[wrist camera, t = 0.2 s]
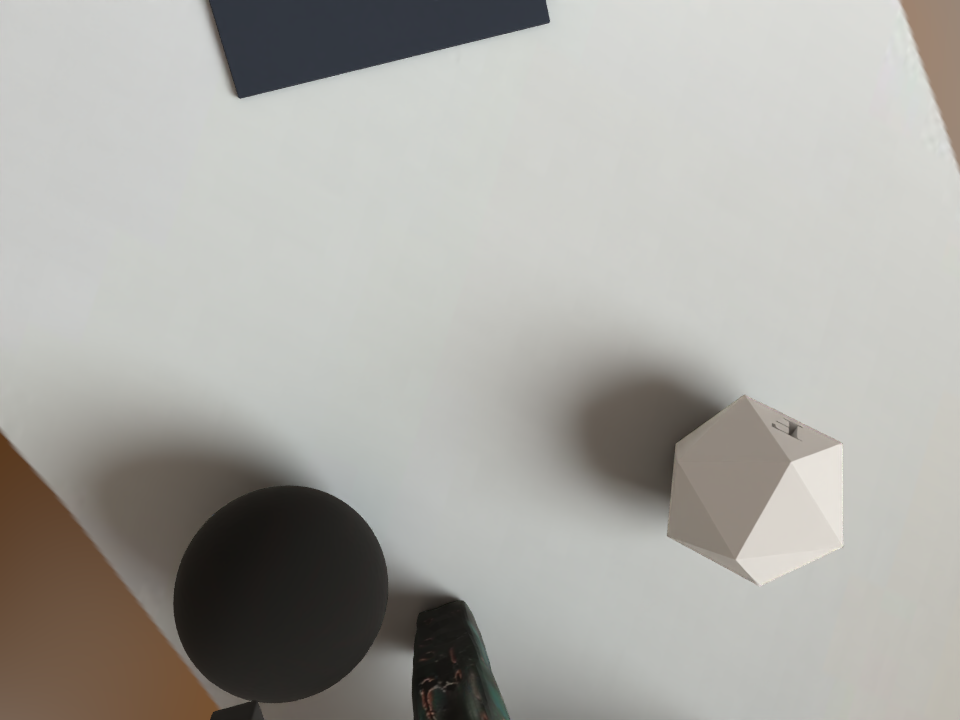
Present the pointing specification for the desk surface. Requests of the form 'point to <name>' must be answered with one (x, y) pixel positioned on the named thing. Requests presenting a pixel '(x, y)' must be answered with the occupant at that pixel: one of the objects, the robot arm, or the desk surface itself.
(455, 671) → the ceramic cat
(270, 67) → the desk mat
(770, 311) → the desk surface
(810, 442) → the die
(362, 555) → the decorative ball
